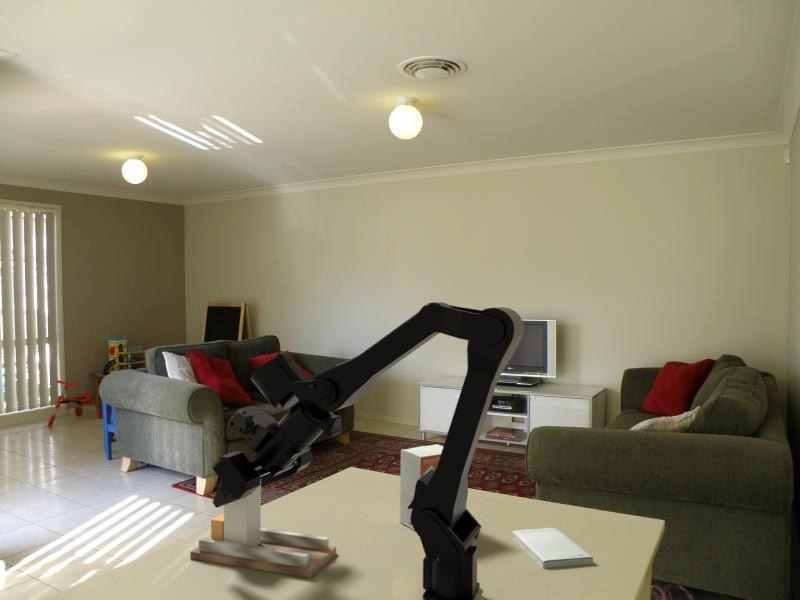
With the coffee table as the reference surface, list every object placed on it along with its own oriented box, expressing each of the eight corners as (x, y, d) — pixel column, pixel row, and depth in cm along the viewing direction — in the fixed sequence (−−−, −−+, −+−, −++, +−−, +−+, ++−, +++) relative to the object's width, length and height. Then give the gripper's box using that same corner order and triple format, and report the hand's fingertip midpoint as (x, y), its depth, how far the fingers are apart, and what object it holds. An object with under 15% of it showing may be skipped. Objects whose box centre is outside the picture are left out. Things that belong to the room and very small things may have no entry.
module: (260, 542, 99) (260, 479, 99) (246, 552, 95) (246, 486, 95) (238, 539, 100) (238, 476, 100) (223, 549, 96) (224, 483, 96)
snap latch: (238, 537, 100) (238, 511, 100) (222, 547, 96) (222, 521, 96) (227, 535, 101) (227, 510, 101) (211, 545, 97) (211, 519, 97)
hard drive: (593, 556, 95) (556, 526, 107) (543, 560, 93) (510, 529, 105) (593, 567, 95) (556, 536, 107) (542, 572, 93) (510, 539, 105)
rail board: (336, 553, 97) (336, 536, 97) (310, 578, 89) (310, 559, 89) (224, 536, 104) (224, 520, 104) (190, 558, 95) (190, 541, 95)
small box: (419, 534, 106) (420, 456, 105) (398, 522, 111) (399, 448, 111) (457, 525, 110) (458, 450, 110) (435, 514, 115) (436, 443, 115)
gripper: (297, 383, 104) (242, 442, 109) (224, 400, 87) (162, 470, 92) (338, 435, 101) (280, 494, 106) (271, 463, 84) (205, 532, 88)
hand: (234, 495), depth 98 cm, fingers open, 9 cm apart
